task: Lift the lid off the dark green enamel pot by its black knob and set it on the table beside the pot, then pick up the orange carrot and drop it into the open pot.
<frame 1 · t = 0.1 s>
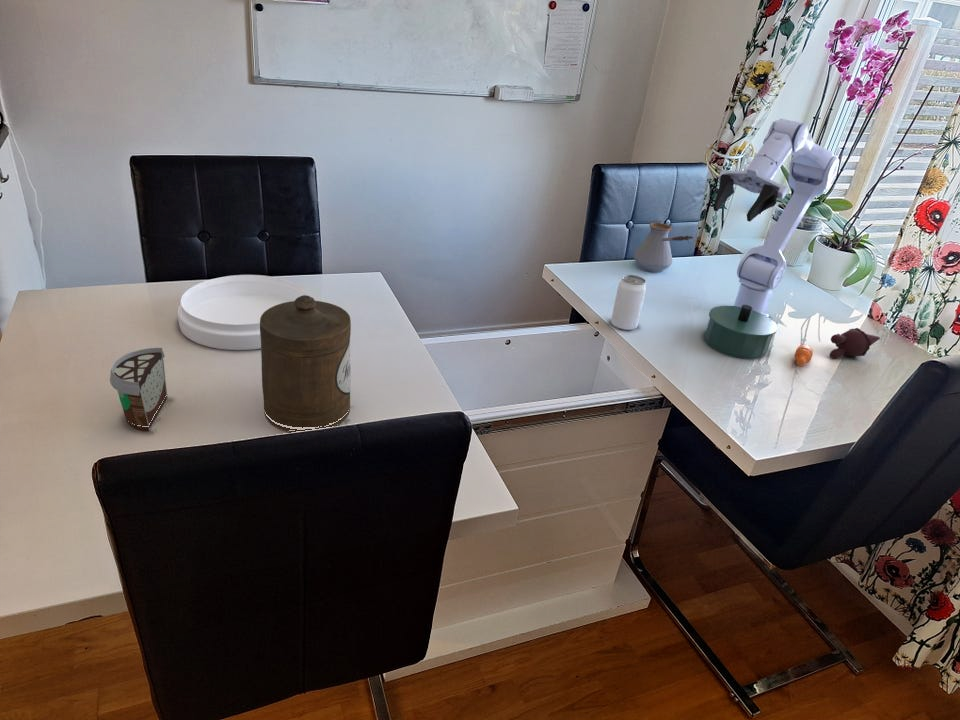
hand: (731, 213, 141), 32 cm above the table, tool tilted 50°, fingers open, 7 cm apart
can: (623, 325, 163), on the table
coffee pot: (659, 274, 196), on the table
carrot: (800, 362, 155), on the table
plate: (246, 321, 146), on the table
wooden container: (307, 410, 119), on the table
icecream: (849, 355, 161), on the table
pot: (735, 344, 160), on the table
food container: (140, 415, 113), on the table
pot lid: (742, 321, 157), point 6 cm above the table, touching pot
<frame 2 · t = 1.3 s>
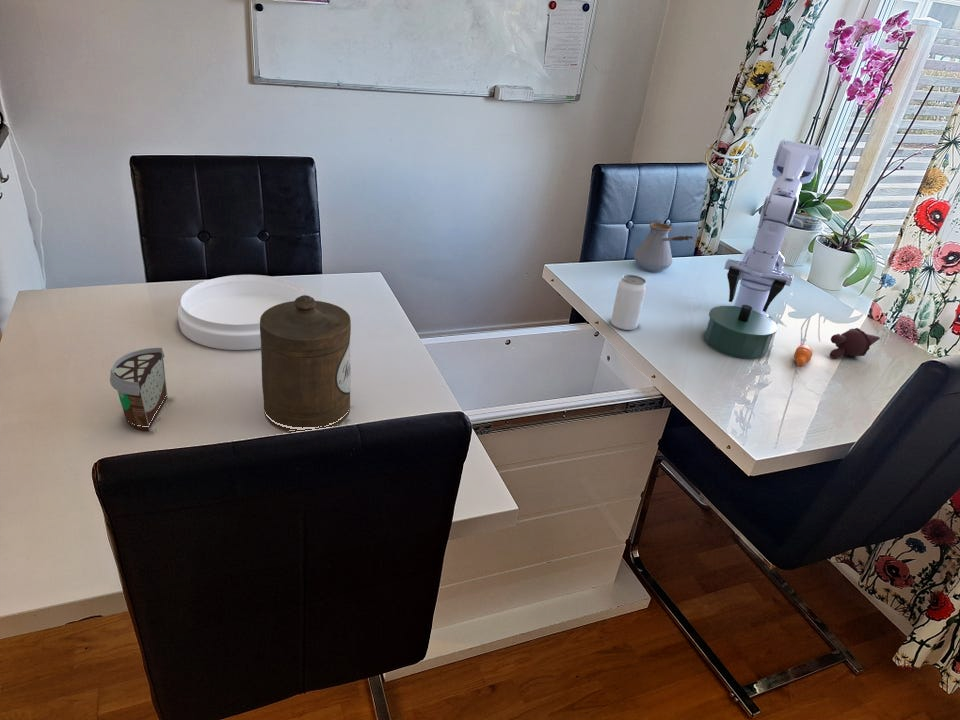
hand: (747, 305, 155), 10 cm above the table, tool pointing down, fingers open, 7 cm apart
nothing on the table moved.
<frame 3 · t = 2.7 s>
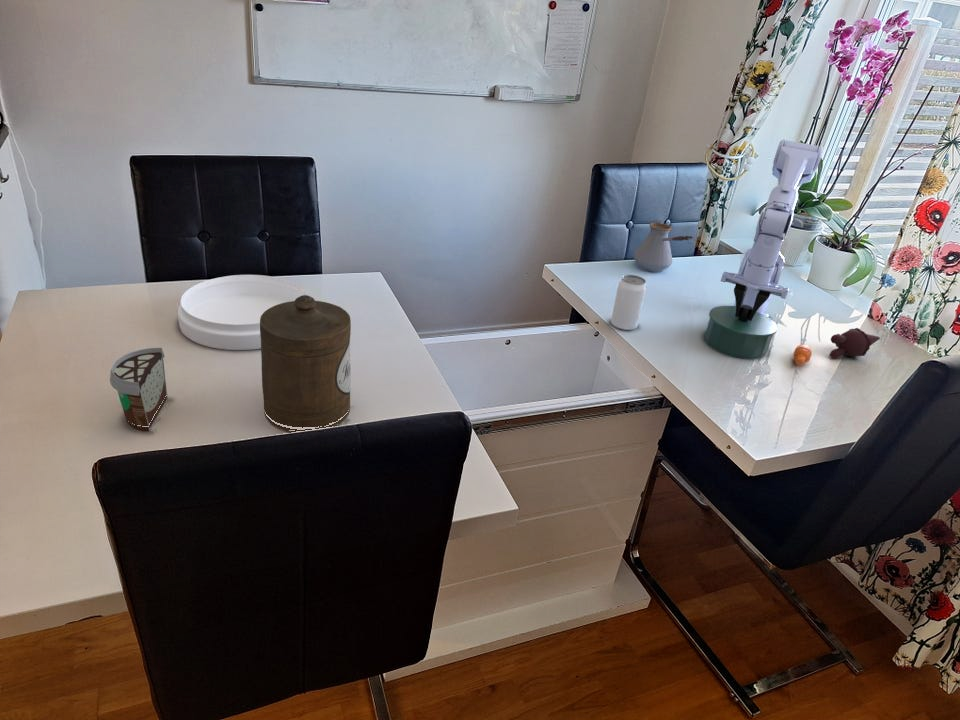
hand: (743, 317, 156), 7 cm above the table, tool pointing down, fingers closed on pot lid, 2 cm apart
carrot: (800, 362, 155), on the table, tilted 8°
pot lid: (742, 321, 157), point 6 cm above the table, touching gripper, pot
everything else where it was.
when the fingers open (2 cm above the table, at t = 7.1 s): pot lid stays where it is, point 1 cm above the table.
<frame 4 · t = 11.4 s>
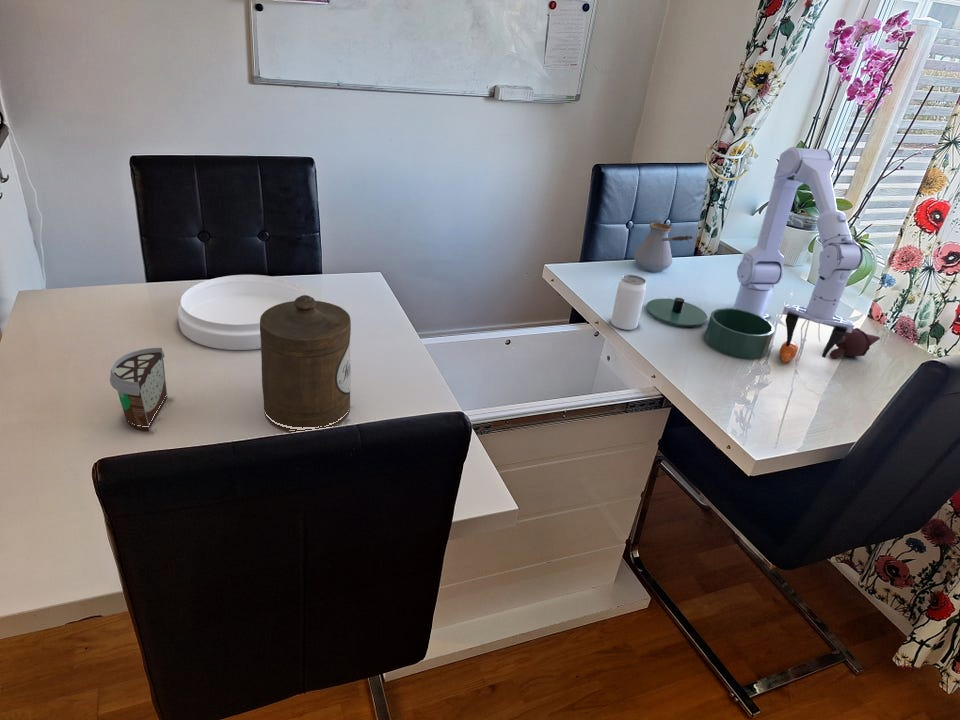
hand: (805, 350, 153), 3 cm above the table, tool pointing down, fingers open, 7 cm apart
carrot: (796, 351, 154), point 2 cm above the table, tilted 104°, touching gripper
pot lid: (676, 312, 171), point 1 cm above the table
everything else where it was.
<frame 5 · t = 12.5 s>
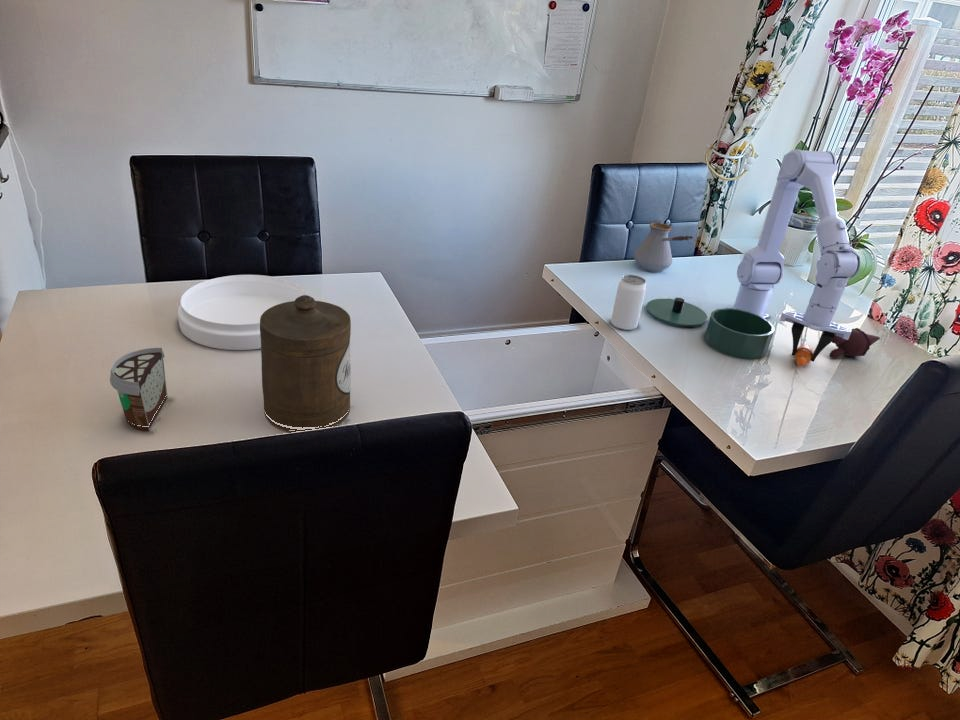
hand: (802, 356, 154), 1 cm above the table, tool pointing down, fingers closed on carrot, 3 cm apart
carrot: (798, 349, 154), point 3 cm above the table, tilted 123°, touching gripper
everything else where it was.
when the fingers open (2 cm above the table, at t = 17.3 s): carrot stays where it is and tips over, resting on pot.
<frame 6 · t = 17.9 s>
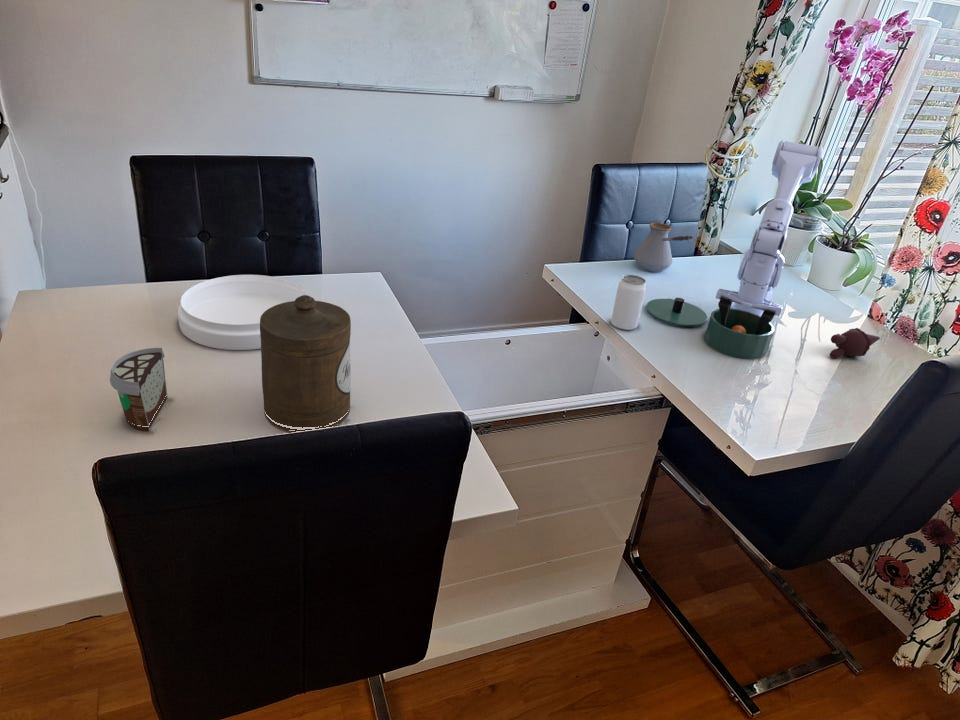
hand: (738, 333, 158), 3 cm above the table, tool pointing down, fingers open, 7 cm apart
carrot: (730, 330, 159), point 3 cm above the table, tilted 113°, touching pot
everything else where it was.
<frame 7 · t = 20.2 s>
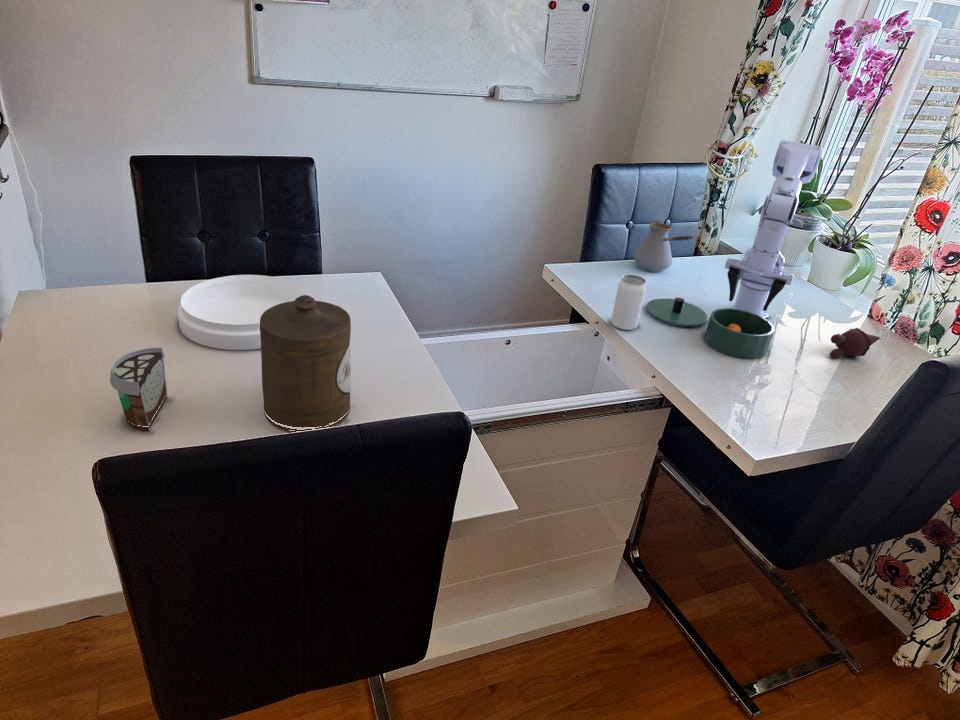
hand: (747, 304, 155), 10 cm above the table, tool pointing down, fingers open, 7 cm apart
carrot: (723, 333, 160), point 2 cm above the table, tilted 77°, touching pot
everything else where it was.
at the end: pot lid inside the target area (0.1 cm from its centre), point 0.6 cm above the table; pot lid tilted 0°; carrot inside the target area in the pot (3.2 cm from its centre), point 1.9 cm above the pot's base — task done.
